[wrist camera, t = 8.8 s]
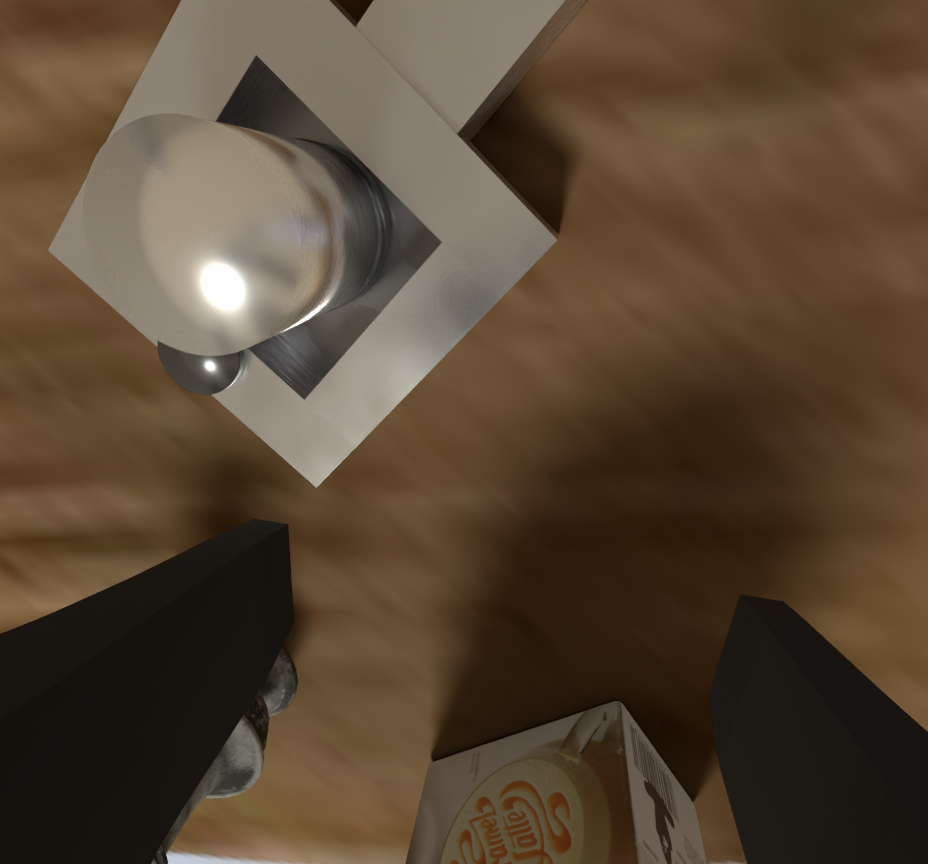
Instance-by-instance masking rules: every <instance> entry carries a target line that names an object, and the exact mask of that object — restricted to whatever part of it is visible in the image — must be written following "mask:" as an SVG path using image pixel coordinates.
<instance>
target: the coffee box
mask: <svg viewBox="0 0 928 864" xmlns="http://www.w3.org/2000/svg"><path fill="white" fill-rule="evenodd" d="M406 864H707V863H706V858H705V853H704V848H703V843H702V838H701V834H700V829H699V824H698V820H697V815H696V810H695V807H694V805H693V803H692V801H691V799H690V798H689V796H688V795H687V793H686V792H685V790H684V789H683V788H682V786H681V785H680V784H679V782H678V781H677V779H676V778H675V777H674V775H673V774H672V772H671V771H670V770H669V768H668V767H667V765H666V764H665V763H664V761H663V760H662V758H661V757H660V756H659V754H658V753H657V751H656V750H655V748H654V747H653V745H652V744H651V743H650V741H649V740H648V739H647V737H646V736H645V734H644V733H643V732H642V730H641V729H640V727H639V726H638V725H637V723H636V722H635V720H634V719H633V718H632V716H631V715H630V713H629V712H628V711H627V709H626V708H625V706H624V705H623V704H622V703H621V702H620V701H613V702H611V703H608V704H604V705H601V706H598V707H595V708H592V709H589V710H586V711H583V712H581V713H578V714H575V715H572V716H569V717H566V718H563V719H560V720H557V721H554V722H551V723H548V724H545V725H542V726H538V727H535V728H533V729H530V730H527V731H524V732H521V733H518V734H514V735H512V736H509V737H506V738H503V739H500V740H497V741H494V742H491V743H487V744H485V745H482V746H479V747H476V748H473V749H470V750H467V751H464V752H461V753H458V754H455V755H452V756H449V757H446V758H443V759H440V760H437V761H434V762H432V763H430V764H429V766H428V770H427V773H426V779H425V783H424V787H423V791H422V796H421V800H420V804H419V809H418V813H417V818H416V821H415V826H414V830H413V834H412V838H411V843H410V847H409V851H408V855H407V859H406Z"/></svg>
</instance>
